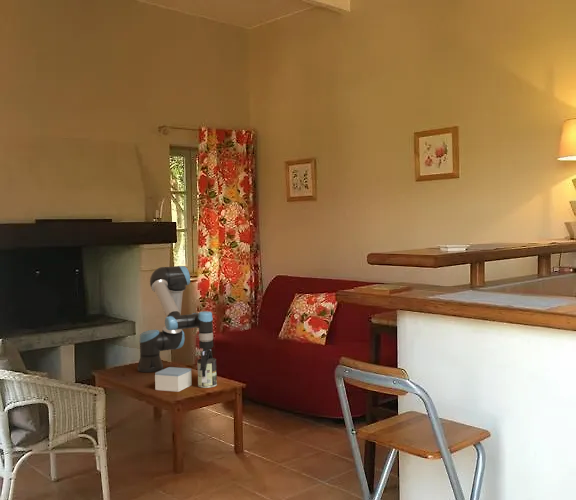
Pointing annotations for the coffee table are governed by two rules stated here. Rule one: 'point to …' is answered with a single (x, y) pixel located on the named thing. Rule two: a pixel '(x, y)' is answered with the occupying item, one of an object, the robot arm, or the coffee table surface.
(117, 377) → the coffee table surface
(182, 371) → the lid
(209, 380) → the coffee can
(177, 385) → the box
